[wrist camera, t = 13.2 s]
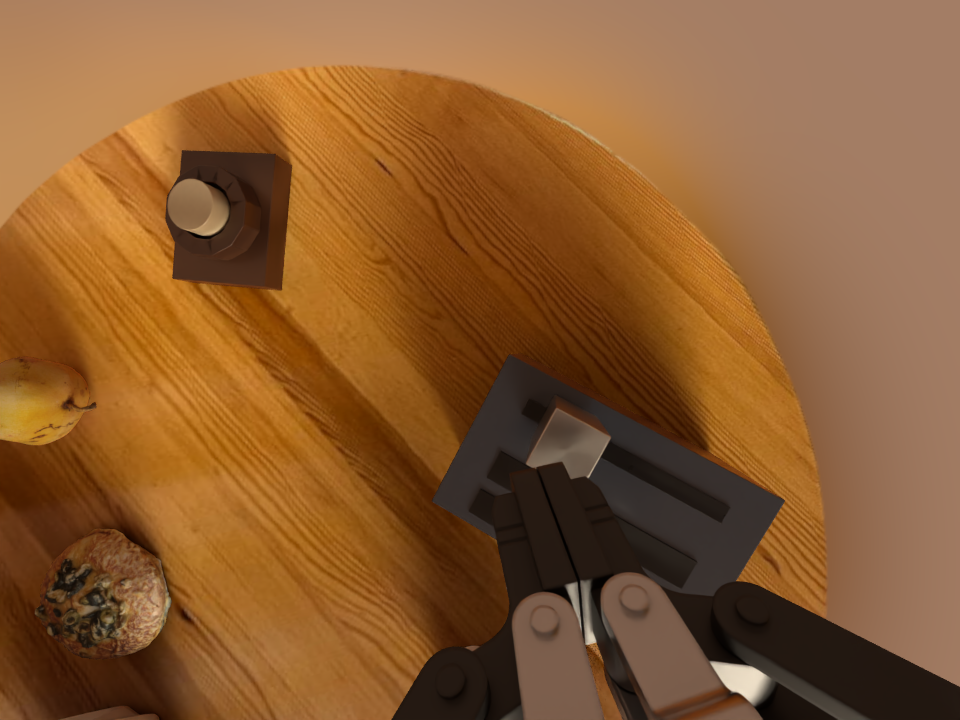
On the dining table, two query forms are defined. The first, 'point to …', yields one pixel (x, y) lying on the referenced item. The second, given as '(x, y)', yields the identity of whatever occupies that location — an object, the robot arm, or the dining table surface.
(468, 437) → the toaster
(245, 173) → the block
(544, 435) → the toaster slider
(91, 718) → the vase
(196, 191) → the power button
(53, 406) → the fruit
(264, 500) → the dining table surface
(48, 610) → the bread roll
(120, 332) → the dining table surface
